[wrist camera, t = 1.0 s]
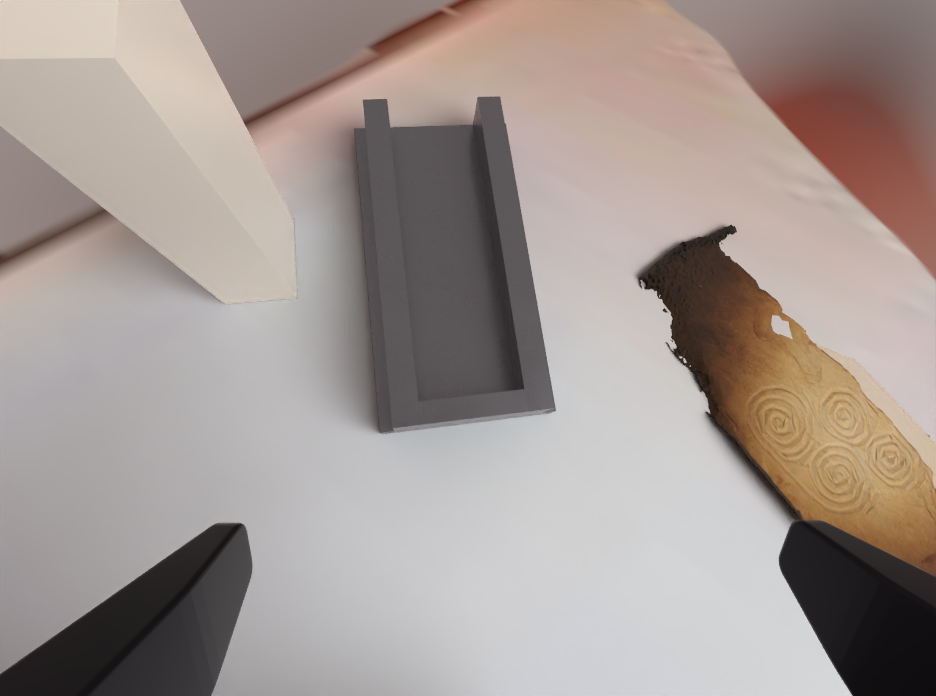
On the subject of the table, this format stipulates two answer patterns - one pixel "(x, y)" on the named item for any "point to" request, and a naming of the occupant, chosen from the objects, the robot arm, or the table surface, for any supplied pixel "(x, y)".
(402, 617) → the table surface
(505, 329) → the grey rectangular tray
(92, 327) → the table surface
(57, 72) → the cream rectangular block
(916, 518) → the parchment
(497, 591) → the table surface
